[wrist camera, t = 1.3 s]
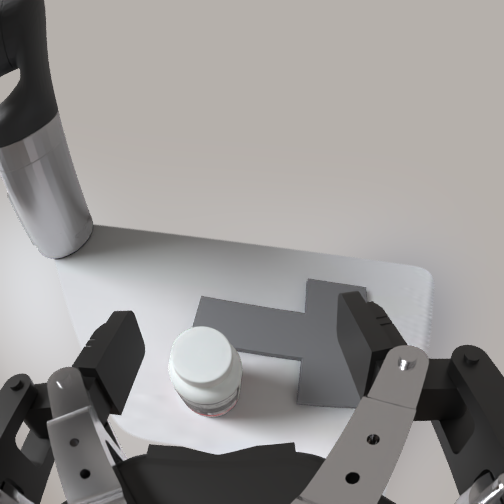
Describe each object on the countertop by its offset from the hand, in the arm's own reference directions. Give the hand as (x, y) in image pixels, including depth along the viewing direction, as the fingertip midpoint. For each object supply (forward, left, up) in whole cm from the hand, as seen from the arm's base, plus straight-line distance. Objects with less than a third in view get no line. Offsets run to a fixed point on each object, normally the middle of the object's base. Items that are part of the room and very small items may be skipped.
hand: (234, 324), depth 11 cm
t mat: (+3, +8, -17) cm, 20 cm away
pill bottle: (-2, +1, -18) cm, 18 cm away
